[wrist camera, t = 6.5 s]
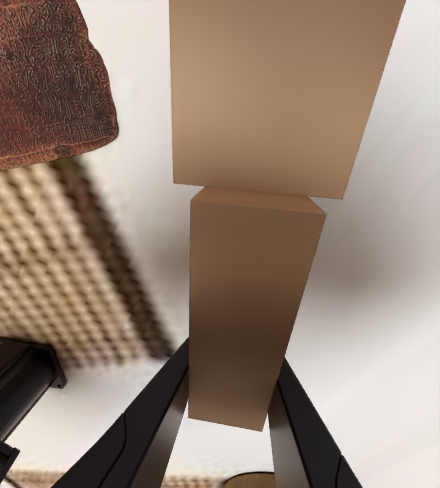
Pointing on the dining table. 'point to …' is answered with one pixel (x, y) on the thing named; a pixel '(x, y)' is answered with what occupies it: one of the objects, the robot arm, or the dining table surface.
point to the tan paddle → (263, 171)
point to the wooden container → (252, 481)
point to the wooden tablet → (50, 84)
